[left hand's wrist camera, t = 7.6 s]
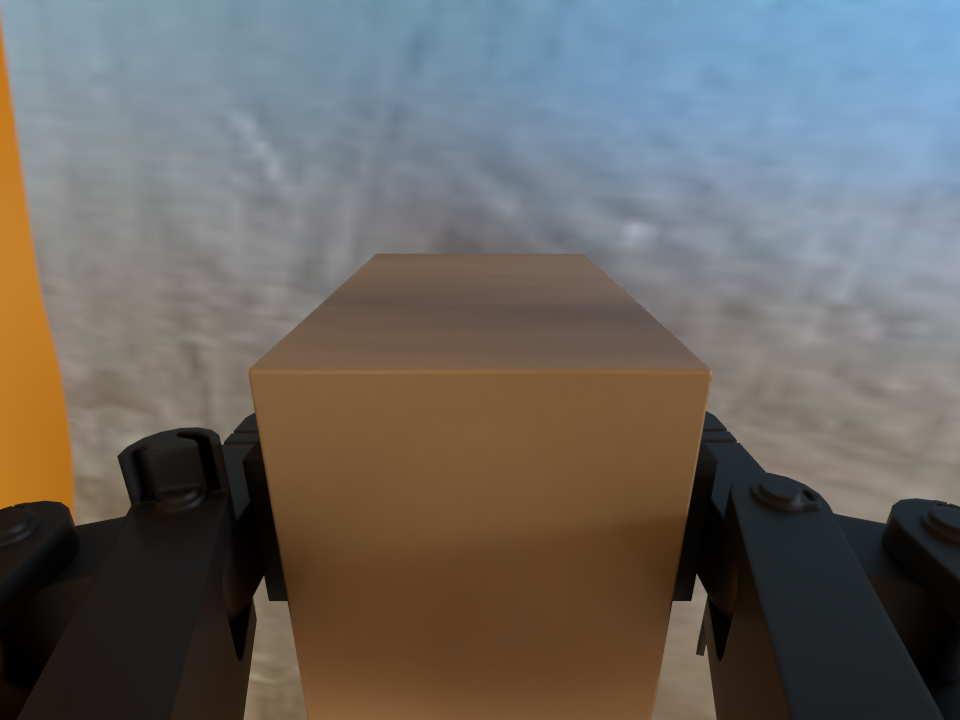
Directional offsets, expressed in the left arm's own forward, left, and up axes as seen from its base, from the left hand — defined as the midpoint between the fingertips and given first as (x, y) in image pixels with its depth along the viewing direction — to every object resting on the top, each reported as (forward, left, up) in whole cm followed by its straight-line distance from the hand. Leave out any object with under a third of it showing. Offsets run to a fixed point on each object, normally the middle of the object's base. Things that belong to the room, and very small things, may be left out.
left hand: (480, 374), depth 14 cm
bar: (+12, +7, -1) cm, 14 cm away
